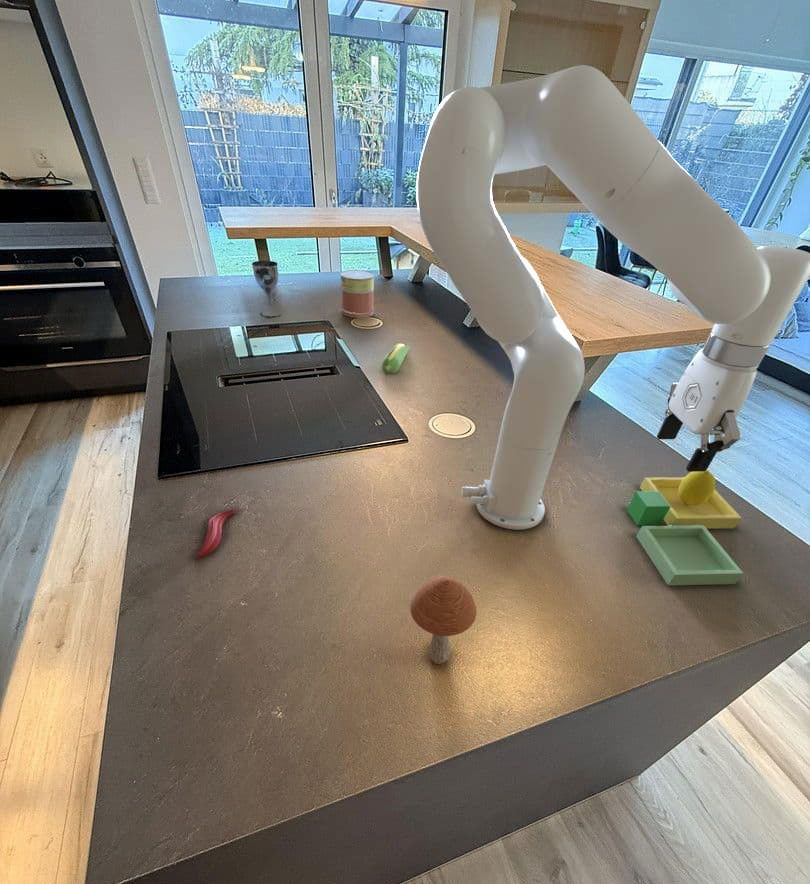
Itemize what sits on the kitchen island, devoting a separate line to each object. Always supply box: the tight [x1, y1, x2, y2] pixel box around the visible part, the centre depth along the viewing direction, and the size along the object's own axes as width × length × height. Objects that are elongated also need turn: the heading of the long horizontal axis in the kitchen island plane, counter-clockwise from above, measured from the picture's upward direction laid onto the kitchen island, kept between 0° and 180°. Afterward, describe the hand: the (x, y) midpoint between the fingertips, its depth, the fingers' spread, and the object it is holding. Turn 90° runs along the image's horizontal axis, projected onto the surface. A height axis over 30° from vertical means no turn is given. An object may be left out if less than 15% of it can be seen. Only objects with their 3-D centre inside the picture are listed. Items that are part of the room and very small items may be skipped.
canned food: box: [340, 269, 375, 319], centre depth 159 cm, size 11×11×12 cm
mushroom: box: [409, 575, 477, 665], centre depth 57 cm, size 8×8×15 cm
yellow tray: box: [639, 477, 742, 530], centre depth 89 cm, size 13×13×3 cm
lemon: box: [678, 469, 717, 505], centre depth 86 cm, size 6×6×8 cm
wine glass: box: [251, 260, 279, 308], centre depth 152 cm, size 8×8×15 cm
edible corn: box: [381, 342, 411, 374], centre depth 131 cm, size 5×20×5 cm, turn 167°
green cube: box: [626, 490, 671, 527], centre depth 85 cm, size 4×4×4 cm
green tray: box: [636, 525, 744, 586], centre depth 78 cm, size 12×12×3 cm
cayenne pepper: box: [195, 509, 237, 559], centre depth 76 cm, size 12×5×2 cm, turn 161°
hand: (679, 453), depth 77 cm, fingers open, 9 cm apart
